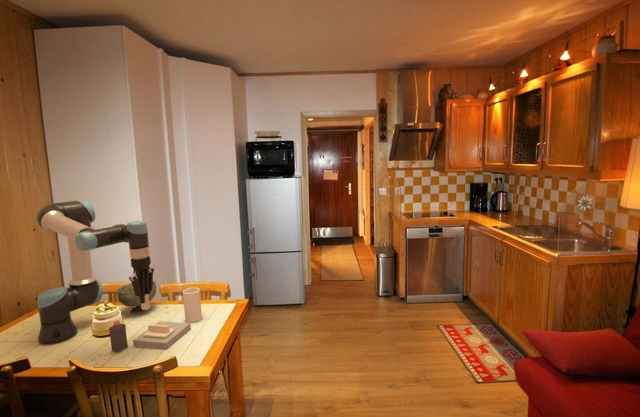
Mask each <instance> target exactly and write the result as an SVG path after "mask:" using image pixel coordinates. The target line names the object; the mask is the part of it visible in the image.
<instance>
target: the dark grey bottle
mask: <svg viewBox="0 0 640 417" xmlns="http://www.w3.org/2000/svg"><path fill="white" fill-rule="evenodd" d="M108 330H109V338H110V345H111V347H110V348H111V352H115V353H122V352H123V351H124V350H125V349H127V348H128V347H129V345H128V337H127V328H126V323H121V321H120V320H115V321H113V325H112V326H110V327H108Z"/></svg>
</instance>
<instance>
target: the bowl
mask: <svg viewBox="0 0 640 417" xmlns="http://www.w3.org/2000/svg"><path fill="white" fill-rule="evenodd" d="M149 288H150V287H149ZM150 292H151V294H149V302H151V301H152V300H153V299H154V298H155V296H156V295H157V284H156V281H154V280H153V285H152V291H150ZM117 298H118V301H119V302H120V303H121V304H122V305H124V306H125V307H132V308H130V310H129V314H130V315H132V316H138V315H139V316H140V315H143V314H145V313H148V312H149V311H150V310H151V307H150V308H149V309H148V310H142V308H141V303H140V297H139V296H135V292H134V289H133V286H132V282H131V283H126V284H124V285H122V286H120V287H118V289H117Z"/></svg>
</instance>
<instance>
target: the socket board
mask: <svg viewBox="0 0 640 417" xmlns="http://www.w3.org/2000/svg"><path fill="white" fill-rule="evenodd" d="M154 325H167V326H169V328H171V329H175V331H174V332H173V333H171V334H170V335H169V336H168V337H166V338H157V337H145V336H143V334H145V333H146V332H147V331H149V330H148V329H146V330H145V331H144V332H143V333H141V334H140V335H138V336H136V337H135V338H134V339H132V345H133V347H135V348H136V347H137V348H148V349H156V350H157V349H159V350H168V349H169V348H171V347H172V346H173V345H174V344H175V343H176V342H177V341H178V340H180V339H181V338H183V337H184V335H186V334H187V333H189V331H191V329H192V328H191V326H192V325H191V323H187V322H179V321H178V322H177V321H175V322H174V321H163V320H159V321H158V322H157V323H155V324H154Z"/></svg>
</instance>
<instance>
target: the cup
mask: <svg viewBox="0 0 640 417" xmlns="http://www.w3.org/2000/svg"><path fill="white" fill-rule="evenodd" d="M182 297H183V309H184V321H185V323H190V324H195V323H198V322H200V321H202V319H203V314H202V300H201V291H200V288H199V287H188V288H186V289H183V291H182ZM194 322H195V323H194Z"/></svg>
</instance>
